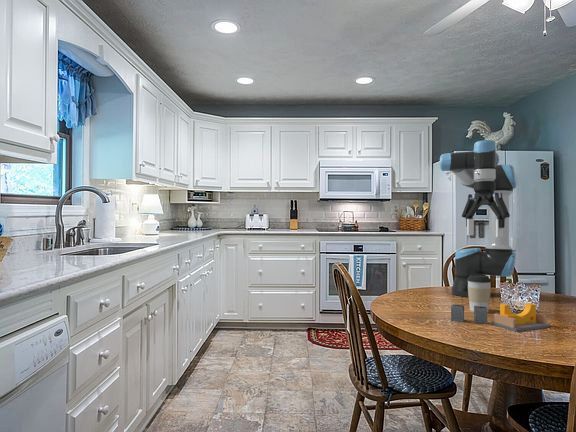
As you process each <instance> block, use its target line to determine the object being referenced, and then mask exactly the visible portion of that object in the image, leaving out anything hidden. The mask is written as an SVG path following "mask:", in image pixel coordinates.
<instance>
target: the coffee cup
mask: <svg viewBox="0 0 576 432" xmlns="http://www.w3.org/2000/svg"><path fill="white" fill-rule="evenodd" d="M467 280H468V296H469V297H468V303H469V311H471V312H473V313H474V306H482V307H486V308H487V313H489V308H490V300H491V289H492V288H491V284H492V283H491V282H492V279H491V278H490V277H489V275H483V274H475V275H470V277H468V278H467Z"/></svg>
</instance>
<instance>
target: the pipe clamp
mask: <svg viewBox="0 0 576 432" xmlns="http://www.w3.org/2000/svg"><path fill="white" fill-rule="evenodd" d="M510 306H511V304H507V303H500V304H499V314H500V315H503V316H507V317H510V318H514V319H516V324H525V323H536V313H537V304H536V303H532V302H526V303H525V307H524V309H523V310H522V311H521V312H520V313H516V314H515V313H514V312H512V310H511V307H510Z"/></svg>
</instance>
